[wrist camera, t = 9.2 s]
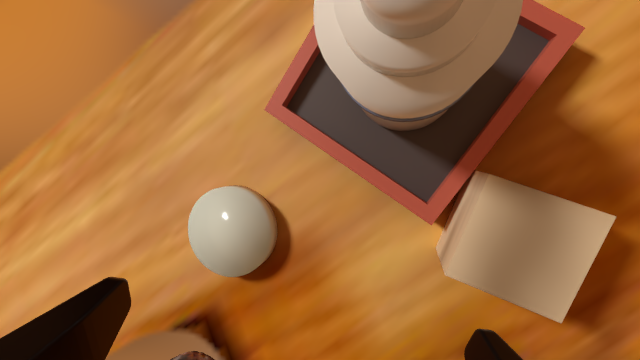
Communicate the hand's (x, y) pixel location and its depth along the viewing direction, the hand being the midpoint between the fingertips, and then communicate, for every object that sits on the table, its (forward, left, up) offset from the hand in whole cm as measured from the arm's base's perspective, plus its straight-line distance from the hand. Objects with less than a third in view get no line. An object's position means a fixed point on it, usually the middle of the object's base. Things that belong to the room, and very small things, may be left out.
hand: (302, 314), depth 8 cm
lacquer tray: (+3, -8, -12) cm, 15 cm away
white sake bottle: (+3, -8, -11) cm, 14 cm away
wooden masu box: (-6, -4, -12) cm, 14 cm away
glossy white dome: (+7, +6, -12) cm, 15 cm away
